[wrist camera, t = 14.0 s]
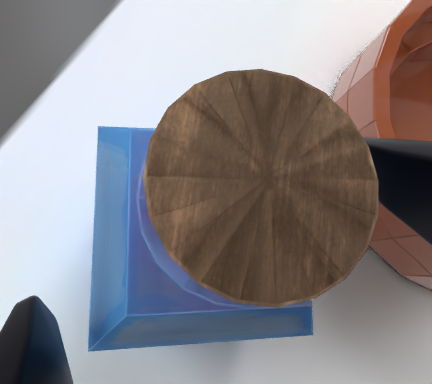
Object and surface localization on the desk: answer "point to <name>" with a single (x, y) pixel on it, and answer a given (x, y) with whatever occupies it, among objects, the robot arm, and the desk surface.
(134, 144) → the perfume bottle
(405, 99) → the bowl
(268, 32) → the desk surface
